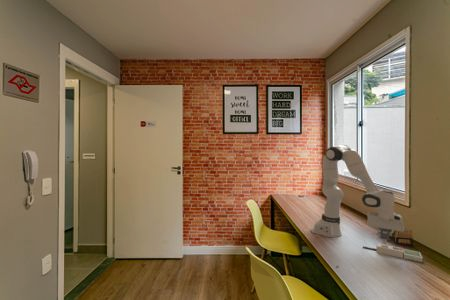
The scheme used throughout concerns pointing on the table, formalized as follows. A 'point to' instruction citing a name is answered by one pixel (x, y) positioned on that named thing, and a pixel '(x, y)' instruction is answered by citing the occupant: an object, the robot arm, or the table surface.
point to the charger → (384, 234)
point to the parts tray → (412, 255)
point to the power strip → (388, 250)
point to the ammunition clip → (404, 237)
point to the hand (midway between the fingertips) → (384, 234)
